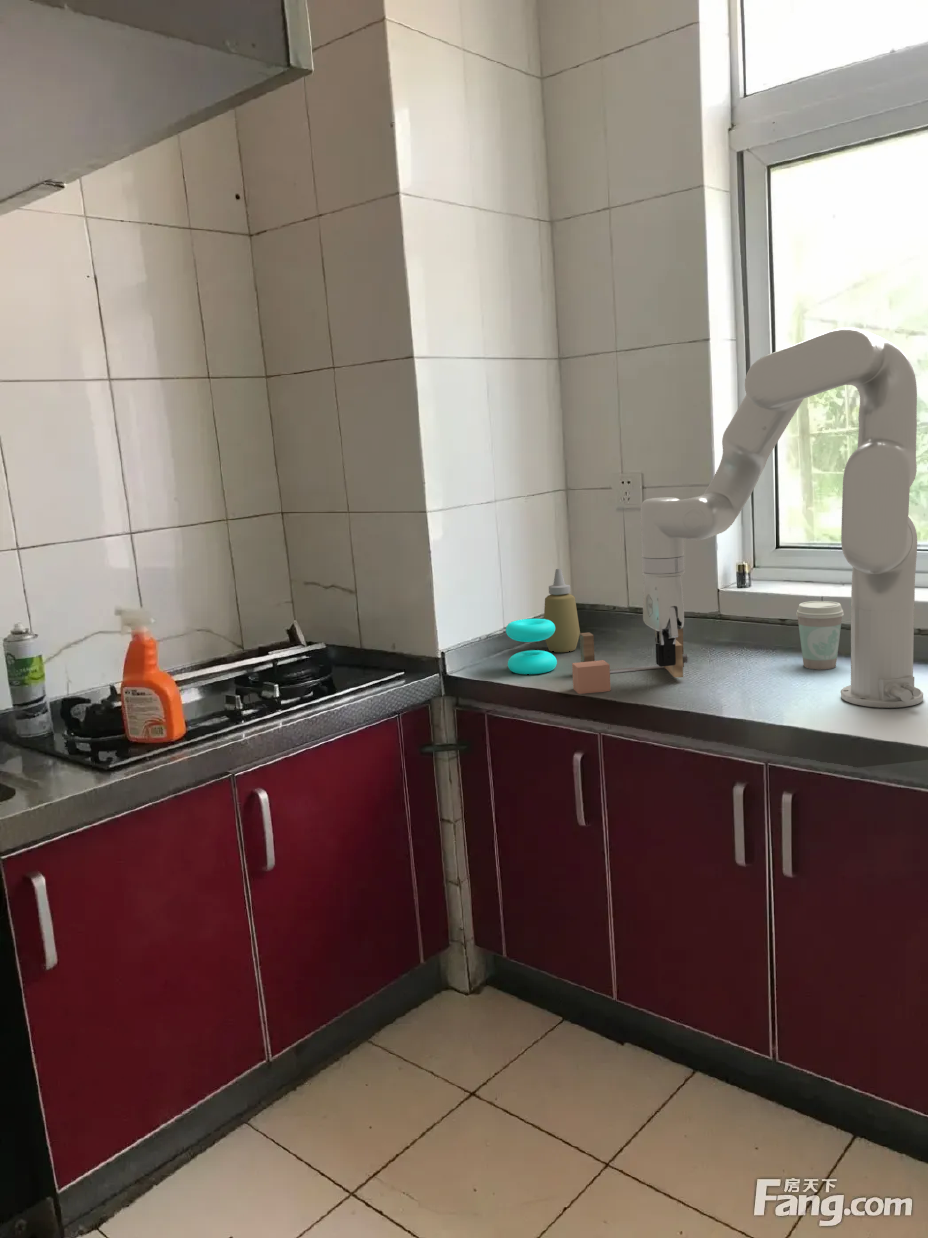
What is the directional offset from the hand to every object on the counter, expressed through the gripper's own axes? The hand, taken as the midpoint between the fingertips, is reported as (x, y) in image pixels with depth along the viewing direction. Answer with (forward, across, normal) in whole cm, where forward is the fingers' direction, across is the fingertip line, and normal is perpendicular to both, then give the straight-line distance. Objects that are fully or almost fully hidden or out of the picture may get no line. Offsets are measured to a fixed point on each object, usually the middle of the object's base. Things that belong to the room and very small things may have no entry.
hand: (665, 664), depth 183 cm
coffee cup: (+4, -2, +31) cm, 31 cm away
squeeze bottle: (+4, -37, -11) cm, 39 cm away
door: (+3, -6, +4) cm, 8 cm away
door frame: (+4, -13, -3) cm, 14 cm away
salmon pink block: (+4, -1, -14) cm, 14 cm away
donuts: (+4, -21, -21) cm, 30 cm away
